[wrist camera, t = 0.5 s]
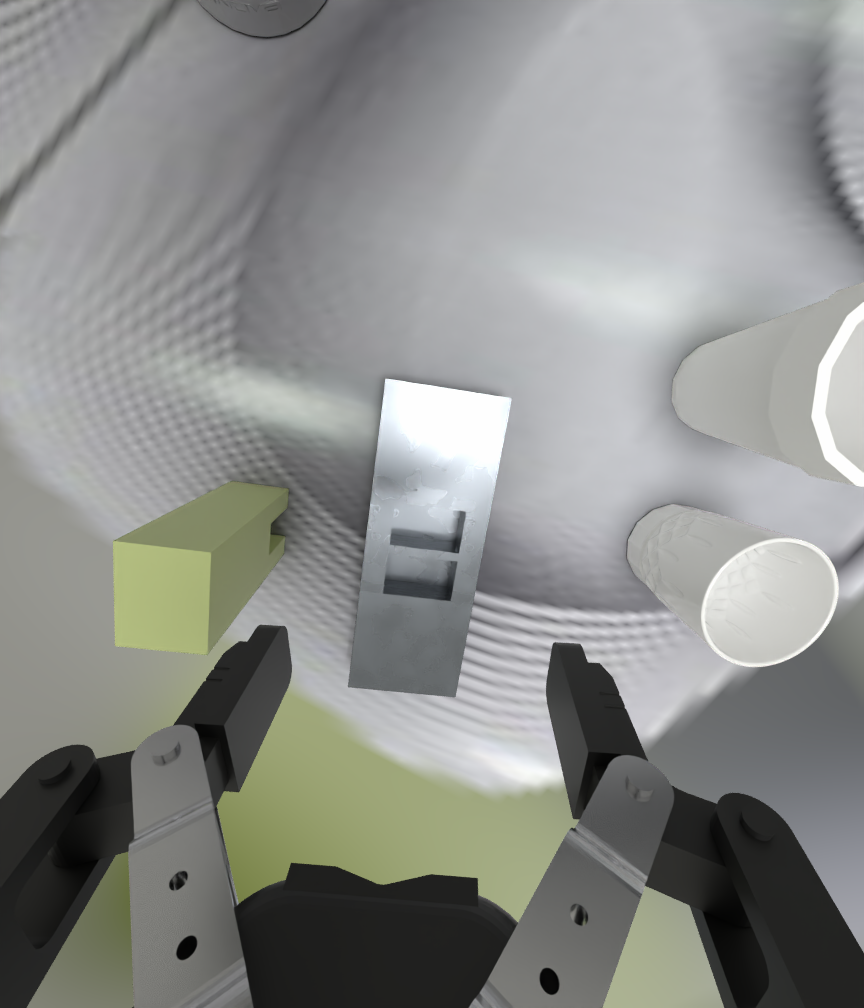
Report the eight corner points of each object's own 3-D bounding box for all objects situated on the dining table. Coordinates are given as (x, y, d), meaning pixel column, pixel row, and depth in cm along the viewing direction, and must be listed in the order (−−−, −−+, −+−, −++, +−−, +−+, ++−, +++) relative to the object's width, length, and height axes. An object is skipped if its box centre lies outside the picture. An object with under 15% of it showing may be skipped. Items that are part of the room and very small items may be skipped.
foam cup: (797, 330, 31) (1067, 288, 18) (754, 461, 33) (968, 503, 20) (670, 306, 30) (861, 244, 17) (634, 441, 32) (781, 473, 20)
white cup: (597, 558, 34) (673, 623, 25) (665, 475, 33) (772, 510, 23) (670, 609, 36) (768, 690, 26) (737, 532, 34) (867, 587, 25)
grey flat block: (387, 379, 30) (385, 378, 27) (501, 397, 31) (511, 398, 28) (352, 662, 35) (347, 687, 32) (451, 672, 36) (455, 697, 33)
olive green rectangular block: (231, 481, 31) (113, 541, 19) (288, 488, 32) (211, 552, 19) (228, 547, 32) (115, 646, 20) (283, 554, 33) (207, 655, 20)
